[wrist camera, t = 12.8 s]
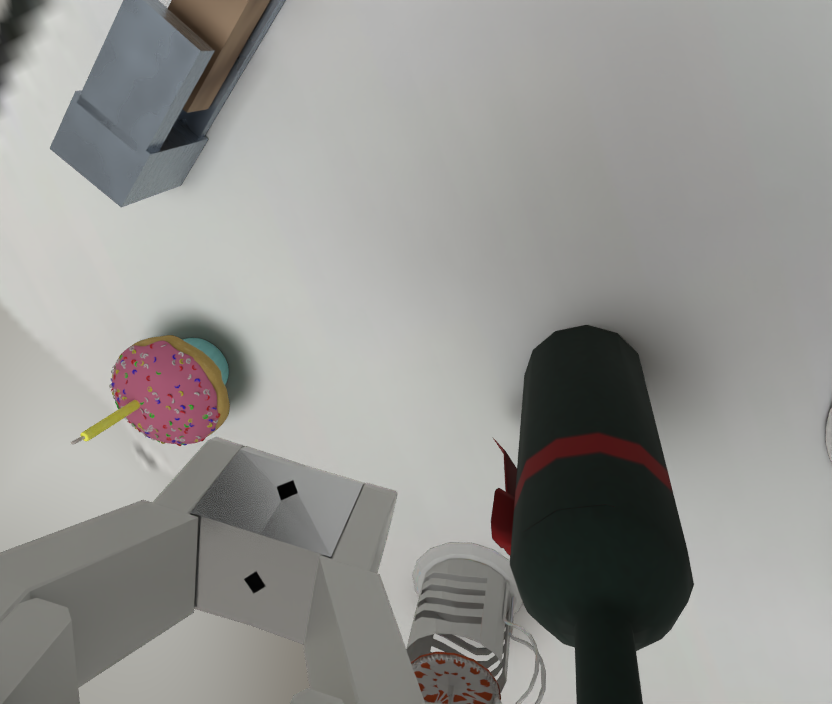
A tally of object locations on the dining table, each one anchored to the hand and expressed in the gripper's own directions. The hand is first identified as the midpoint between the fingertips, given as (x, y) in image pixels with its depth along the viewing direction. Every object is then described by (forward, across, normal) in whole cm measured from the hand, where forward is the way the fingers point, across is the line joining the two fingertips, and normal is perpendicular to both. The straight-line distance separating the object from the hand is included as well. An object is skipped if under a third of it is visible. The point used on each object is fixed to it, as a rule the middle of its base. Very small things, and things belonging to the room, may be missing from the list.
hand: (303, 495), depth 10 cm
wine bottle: (+31, -9, +13) cm, 35 cm away
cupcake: (+31, +18, +20) cm, 41 cm away
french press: (+31, -8, +34) cm, 47 cm away
